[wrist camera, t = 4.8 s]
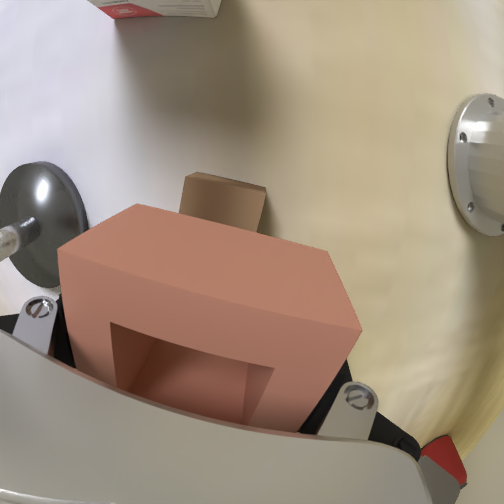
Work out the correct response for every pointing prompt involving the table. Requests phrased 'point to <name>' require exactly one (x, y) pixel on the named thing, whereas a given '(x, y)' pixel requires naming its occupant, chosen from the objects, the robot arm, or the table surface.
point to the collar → (206, 316)
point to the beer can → (446, 458)
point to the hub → (39, 220)
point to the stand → (222, 201)
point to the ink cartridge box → (158, 8)
